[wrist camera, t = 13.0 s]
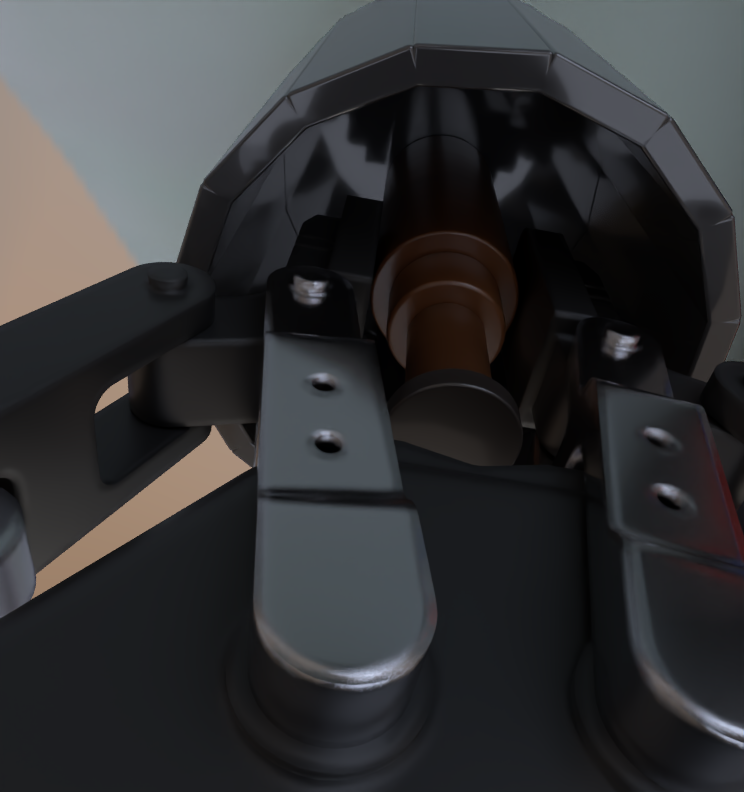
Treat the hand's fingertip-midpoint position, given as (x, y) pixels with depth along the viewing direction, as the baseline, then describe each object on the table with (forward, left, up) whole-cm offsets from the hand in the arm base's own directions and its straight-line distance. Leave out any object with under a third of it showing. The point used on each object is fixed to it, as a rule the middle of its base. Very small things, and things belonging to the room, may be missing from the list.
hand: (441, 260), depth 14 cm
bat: (0, 0, -4) cm, 4 cm away
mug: (+1, +1, -5) cm, 5 cm away
